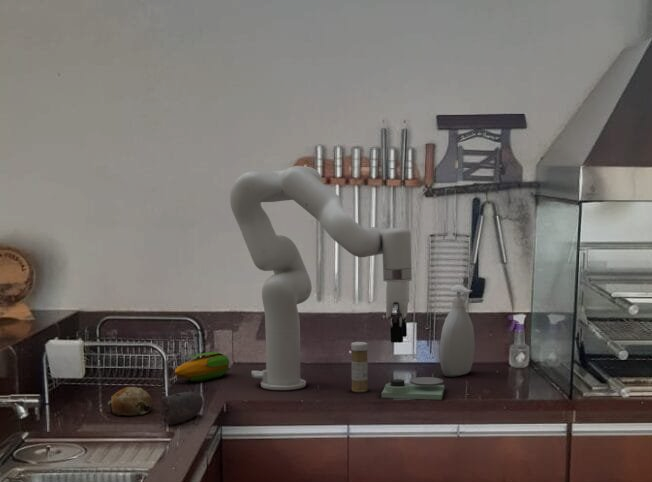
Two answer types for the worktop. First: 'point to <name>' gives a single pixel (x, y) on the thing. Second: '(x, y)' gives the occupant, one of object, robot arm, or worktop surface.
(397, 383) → the power button
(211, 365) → the corn
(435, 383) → the platter
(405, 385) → the scale
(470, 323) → the soap bottle
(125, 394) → the bread roll
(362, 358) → the sprinkles bottle
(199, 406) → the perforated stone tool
